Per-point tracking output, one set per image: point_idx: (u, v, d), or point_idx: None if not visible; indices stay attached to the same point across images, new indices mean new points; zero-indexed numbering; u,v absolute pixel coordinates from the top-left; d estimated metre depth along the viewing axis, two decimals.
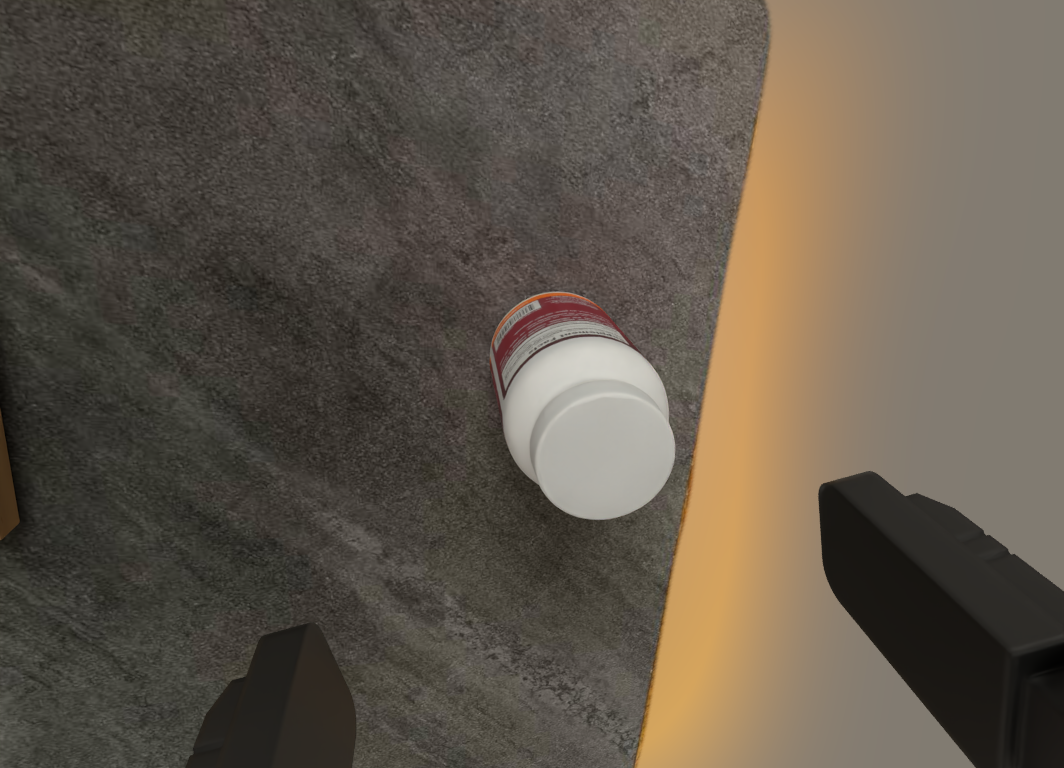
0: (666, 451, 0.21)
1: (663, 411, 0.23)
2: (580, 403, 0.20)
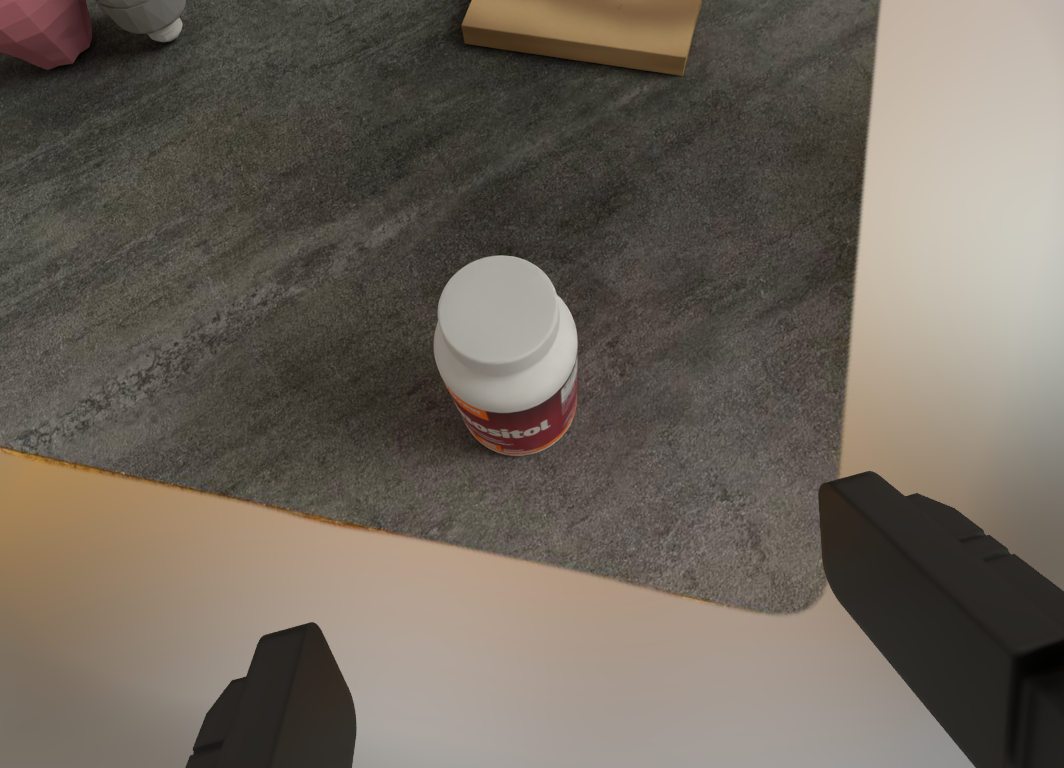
0: (493, 355, 0.24)
1: (506, 394, 0.26)
2: (553, 290, 0.25)
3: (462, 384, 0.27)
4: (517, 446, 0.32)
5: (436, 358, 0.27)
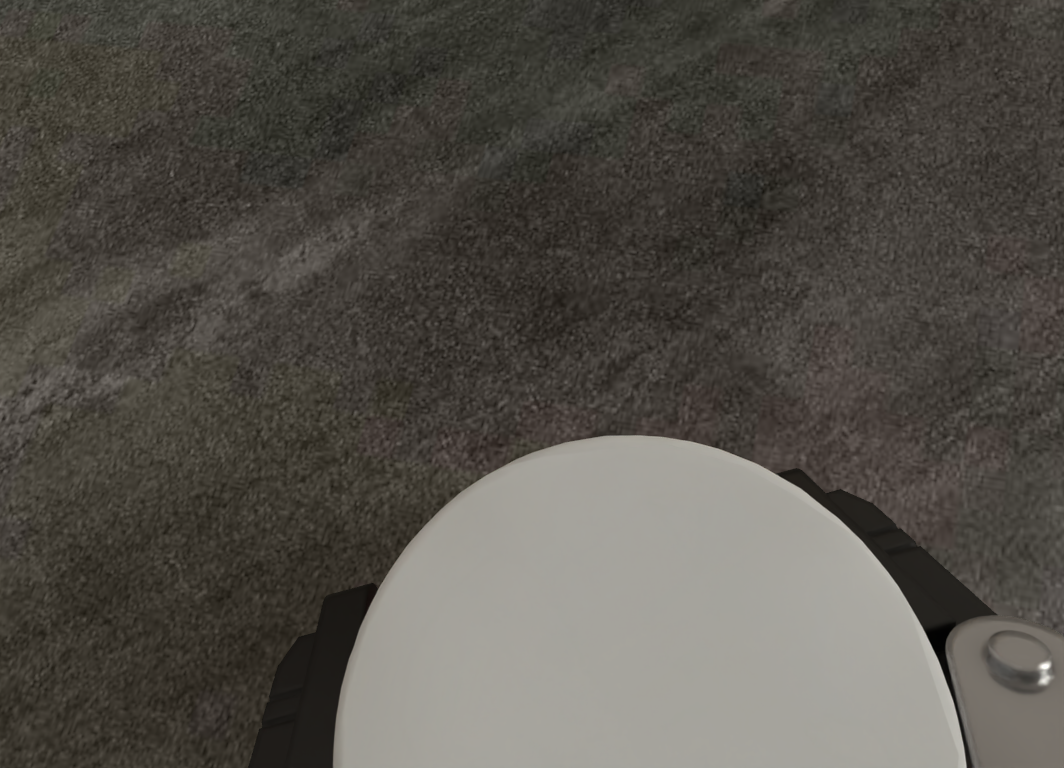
0: None
1: None
2: (924, 644, 0.05)
3: None
4: None
5: None
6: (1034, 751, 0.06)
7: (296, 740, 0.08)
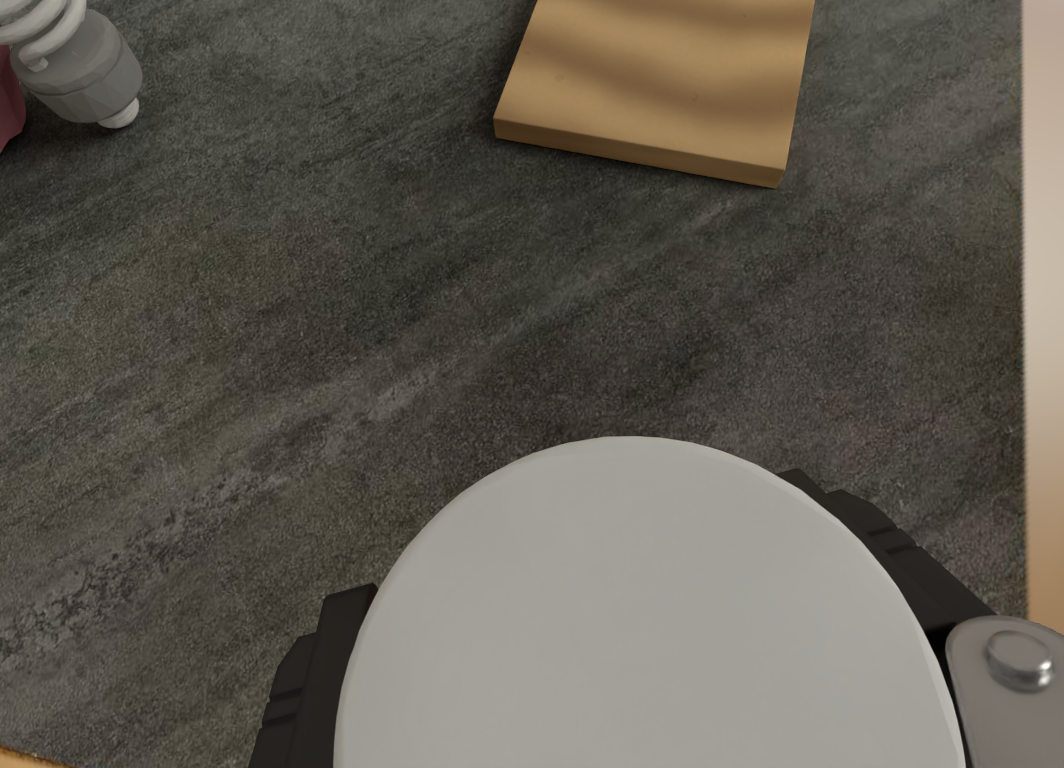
0: None
1: None
2: (924, 644, 0.05)
3: None
4: None
5: None
6: (1034, 750, 0.06)
7: (296, 740, 0.08)
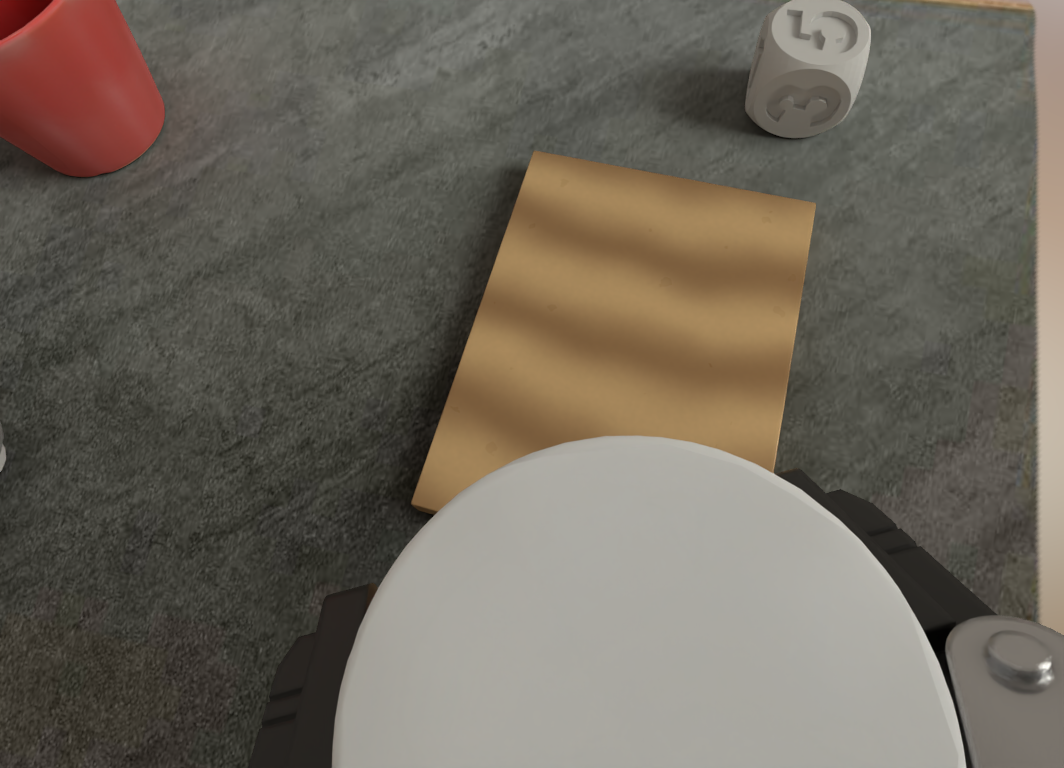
0: None
1: None
2: (924, 643, 0.05)
3: None
4: None
5: None
6: (1034, 751, 0.06)
7: (296, 740, 0.08)
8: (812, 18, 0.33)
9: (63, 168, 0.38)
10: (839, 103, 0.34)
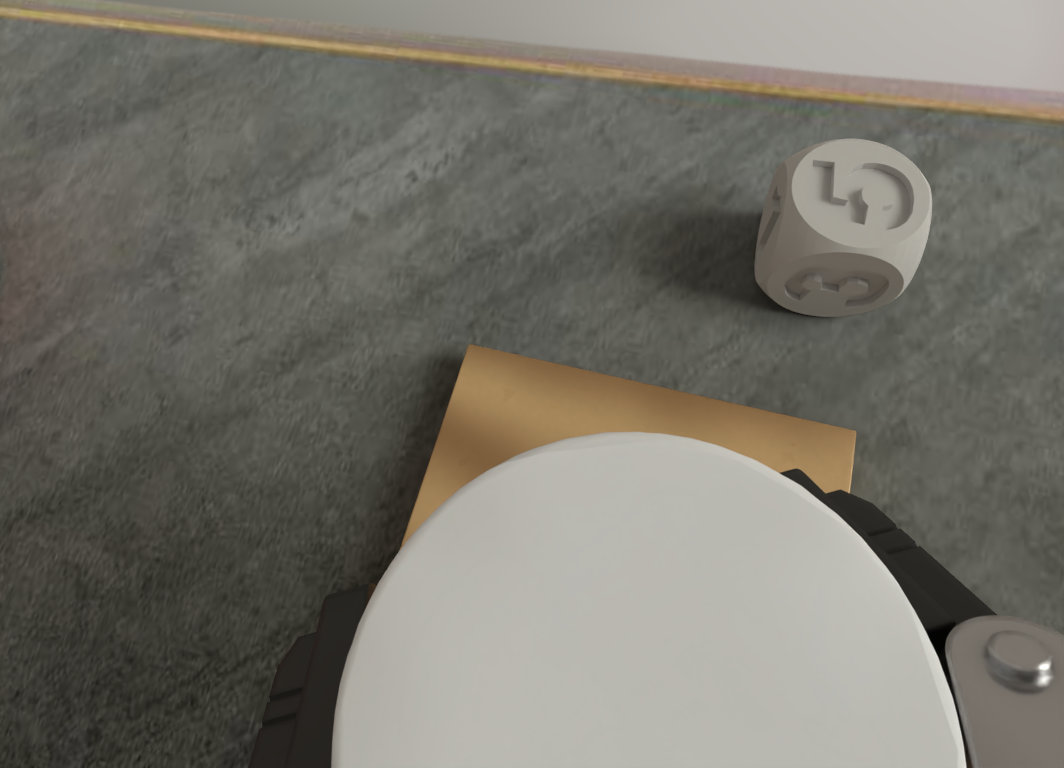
0: None
1: None
2: (922, 639, 0.05)
3: None
4: None
5: None
6: (1034, 751, 0.06)
7: (296, 740, 0.08)
8: (848, 173, 0.24)
9: None
10: (886, 286, 0.25)
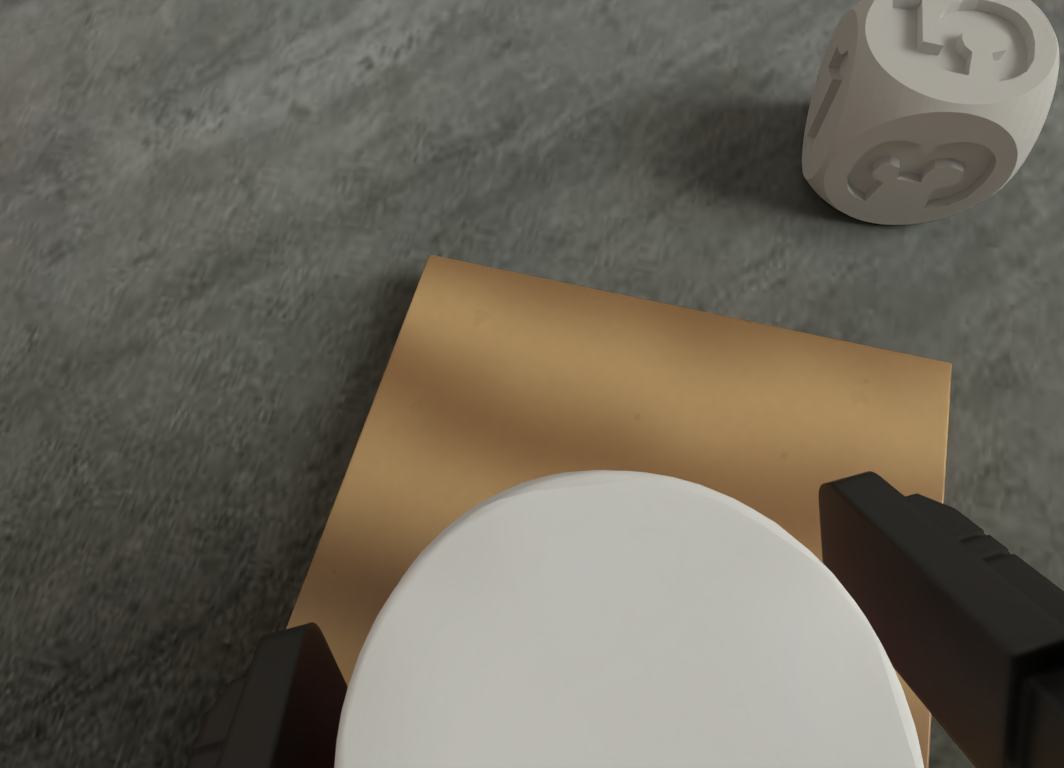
0: None
1: None
2: (889, 671, 0.05)
3: None
4: None
5: None
6: None
7: None
8: (941, 14, 0.18)
9: None
10: (989, 171, 0.18)
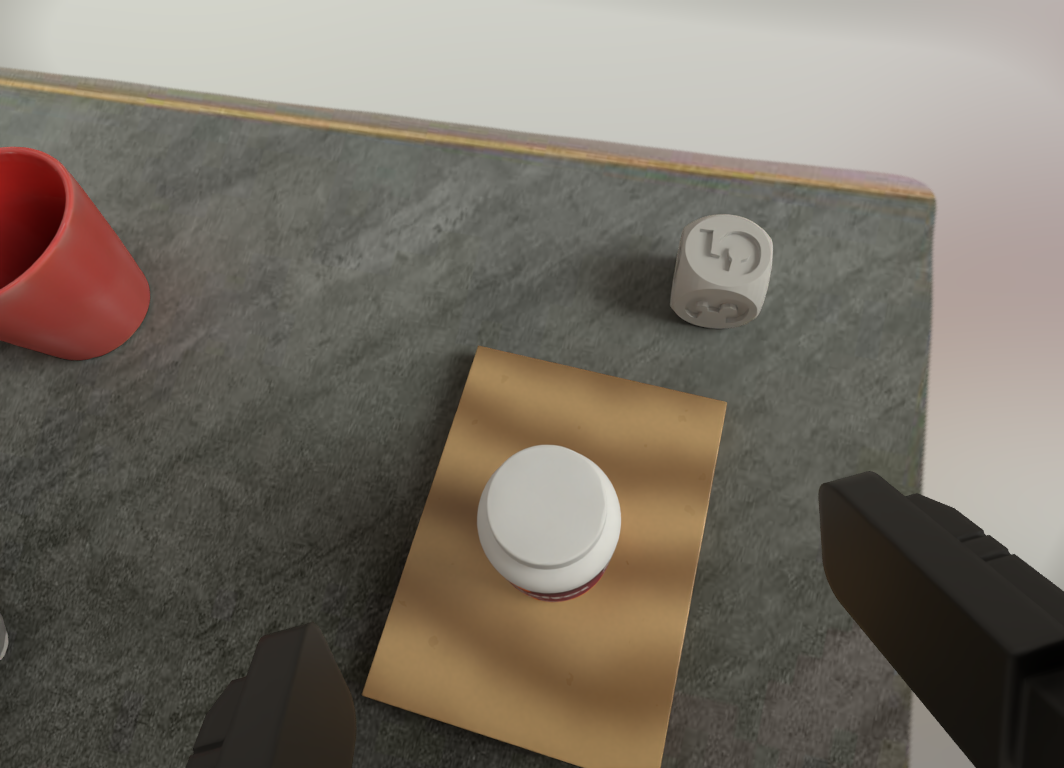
0: (543, 556, 0.24)
1: (552, 580, 0.26)
2: (602, 485, 0.25)
3: (508, 568, 0.27)
4: (555, 600, 0.32)
5: (480, 537, 0.27)
6: None
7: None
8: (721, 238, 0.38)
9: (58, 356, 0.42)
10: (748, 309, 0.38)
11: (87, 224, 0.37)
